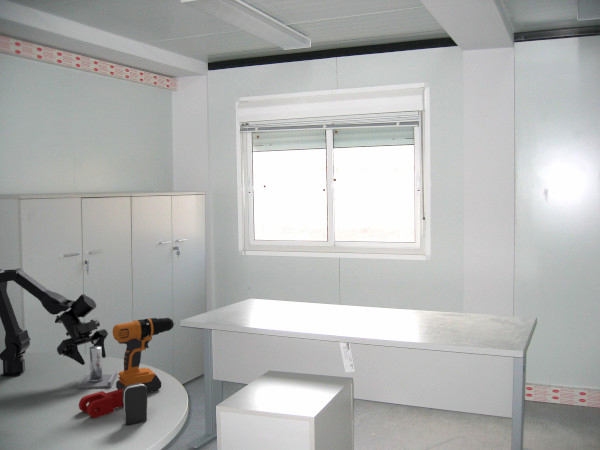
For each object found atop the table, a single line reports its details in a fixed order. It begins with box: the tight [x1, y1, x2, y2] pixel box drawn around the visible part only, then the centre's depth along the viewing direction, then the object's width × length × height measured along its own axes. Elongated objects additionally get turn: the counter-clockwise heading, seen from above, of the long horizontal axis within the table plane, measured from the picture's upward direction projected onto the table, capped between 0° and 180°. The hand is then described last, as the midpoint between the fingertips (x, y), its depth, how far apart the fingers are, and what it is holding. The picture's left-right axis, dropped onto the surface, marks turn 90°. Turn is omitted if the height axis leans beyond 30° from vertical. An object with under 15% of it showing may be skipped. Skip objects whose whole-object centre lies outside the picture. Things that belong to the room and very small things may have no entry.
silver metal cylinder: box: [89, 345, 103, 383], centre depth 210 cm, size 4×4×12 cm
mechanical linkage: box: [78, 389, 124, 419], centre depth 188 cm, size 16×7×5 cm, turn 136°
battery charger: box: [122, 383, 148, 426], centre depth 178 cm, size 7×4×11 cm, turn 125°
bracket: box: [77, 370, 118, 390], centre depth 211 cm, size 11×12×2 cm
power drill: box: [112, 317, 176, 394], centre depth 203 cm, size 22×7×25 cm, turn 124°
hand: (94, 360), depth 210 cm, fingers open, 9 cm apart
